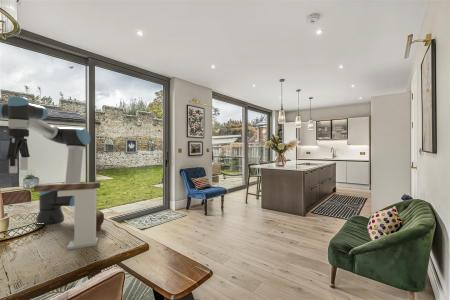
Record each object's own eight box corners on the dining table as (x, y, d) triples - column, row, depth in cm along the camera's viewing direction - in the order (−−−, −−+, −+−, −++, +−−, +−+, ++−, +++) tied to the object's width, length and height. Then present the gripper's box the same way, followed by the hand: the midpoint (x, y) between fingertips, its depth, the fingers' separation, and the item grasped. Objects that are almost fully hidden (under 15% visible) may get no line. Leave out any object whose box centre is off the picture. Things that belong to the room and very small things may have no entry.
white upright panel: (57, 251, 111) (57, 191, 111) (61, 244, 119) (61, 188, 118) (96, 245, 118) (96, 189, 117) (98, 239, 126) (98, 186, 125)
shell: (94, 234, 132) (94, 214, 132) (79, 232, 134) (79, 212, 134) (107, 227, 143) (108, 209, 143) (93, 226, 145) (93, 207, 145)
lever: (34, 191, 109) (34, 185, 109) (36, 190, 112) (36, 184, 112) (99, 188, 120) (99, 182, 120) (100, 187, 123) (100, 182, 123)
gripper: (19, 127, 101) (19, 174, 101) (36, 130, 123) (36, 168, 124) (-4, 126, 97) (-4, 175, 98) (18, 129, 120) (18, 168, 120)
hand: (19, 171), depth 111 cm, fingers open, 13 cm apart
